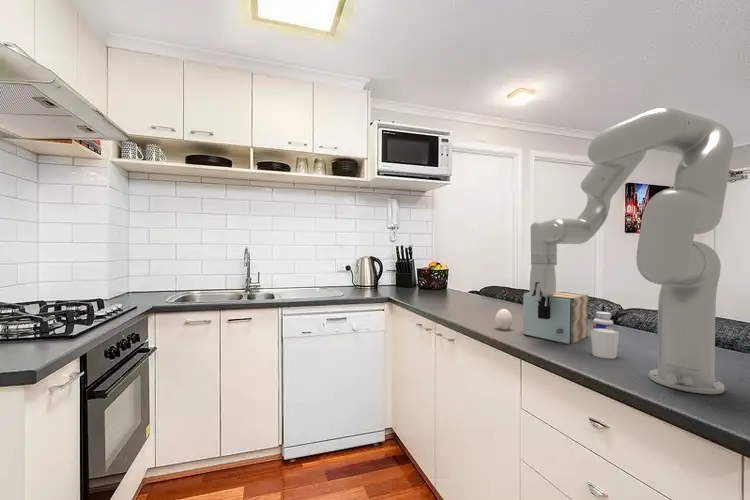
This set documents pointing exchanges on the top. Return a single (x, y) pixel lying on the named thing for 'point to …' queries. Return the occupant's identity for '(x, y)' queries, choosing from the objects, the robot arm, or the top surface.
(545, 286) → the robot arm
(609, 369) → the top surface
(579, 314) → the cabinet
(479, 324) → the top surface
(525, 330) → the door
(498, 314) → the egg
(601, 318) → the pill bottle
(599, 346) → the white cup
